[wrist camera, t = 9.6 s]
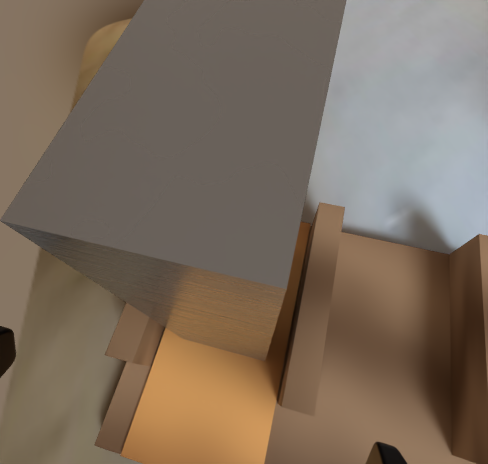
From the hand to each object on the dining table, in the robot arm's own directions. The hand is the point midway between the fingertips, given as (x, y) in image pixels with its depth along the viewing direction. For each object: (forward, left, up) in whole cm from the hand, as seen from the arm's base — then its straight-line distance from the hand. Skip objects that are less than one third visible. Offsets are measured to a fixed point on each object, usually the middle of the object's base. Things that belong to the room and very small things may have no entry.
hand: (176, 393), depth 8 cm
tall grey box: (+4, +2, -7) cm, 9 cm away
